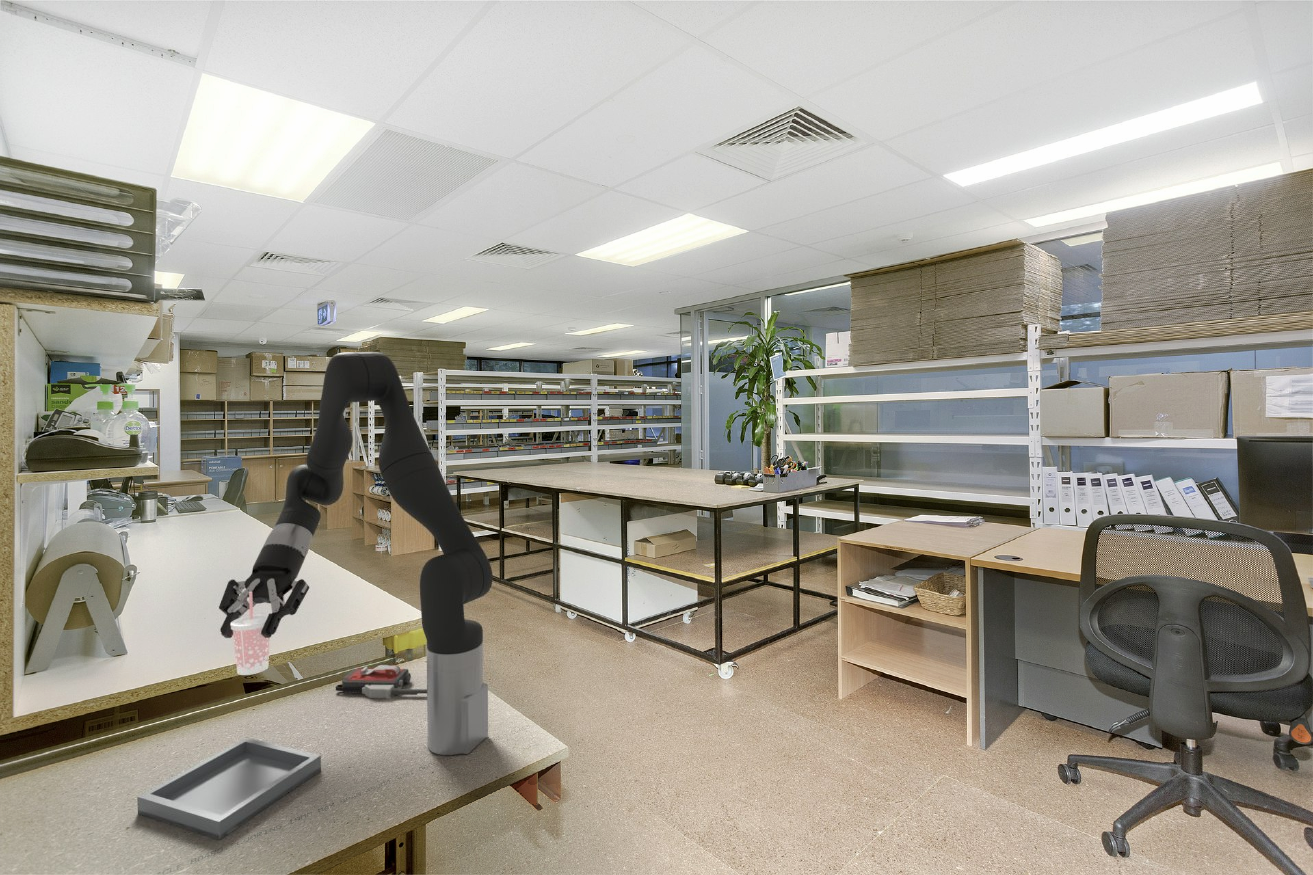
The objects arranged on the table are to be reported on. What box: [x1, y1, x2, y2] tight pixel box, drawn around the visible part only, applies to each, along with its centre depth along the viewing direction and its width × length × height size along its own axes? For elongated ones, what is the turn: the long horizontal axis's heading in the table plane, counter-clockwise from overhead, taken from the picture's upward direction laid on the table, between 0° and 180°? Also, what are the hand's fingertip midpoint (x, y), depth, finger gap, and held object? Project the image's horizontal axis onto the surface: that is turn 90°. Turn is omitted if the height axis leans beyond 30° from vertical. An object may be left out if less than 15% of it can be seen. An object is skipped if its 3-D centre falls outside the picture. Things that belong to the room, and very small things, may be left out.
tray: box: [136, 737, 322, 841], centre depth 88 cm, size 16×16×2 cm
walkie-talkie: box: [335, 664, 427, 700], centre depth 121 cm, size 9×4×20 cm
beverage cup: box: [231, 592, 271, 676], centre depth 104 cm, size 6×6×14 cm
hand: (245, 635), depth 102 cm, fingers closed on beverage cup, 6 cm apart
